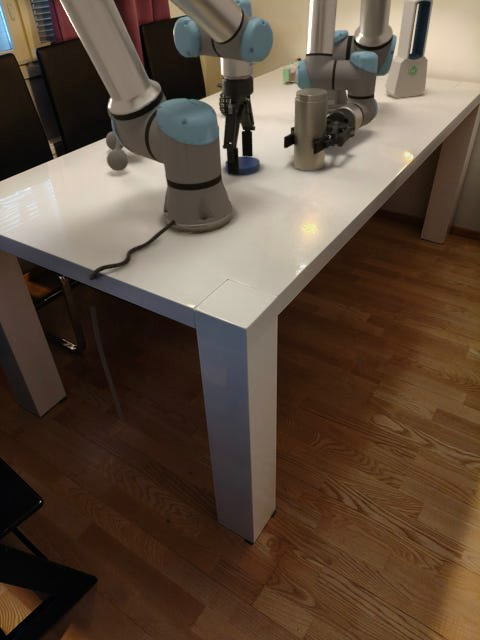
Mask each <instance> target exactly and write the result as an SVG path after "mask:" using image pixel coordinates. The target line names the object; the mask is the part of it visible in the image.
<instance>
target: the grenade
mask: <svg viewBox="0 0 480 640" xmlns="http://www.w3.org/2000/svg"><path fill="white" fill-rule="evenodd" d="M215 87H217V88H219V89H222V82H218V83H217V84H216V86H215ZM218 101H219V102H218V106H219V108H218V109H219V112H220V114H221V115H222V116H224V117H226V108H225V106H226V104H229V103H230V97H229V96H225V95H224V94H223V91H222V90H221V93H219V97H218Z"/></svg>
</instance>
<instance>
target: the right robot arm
mask: <svg viewBox="0 0 480 640" xmlns="http://www.w3.org/2000/svg"><path fill="white" fill-rule="evenodd" d="M391 5H392V0H360V10H359V11H360V12H359V25H358V27H357V28H356V29H355V30H354V33H353V35H350V33H349V30H347V29H338V30H336V21H337V11H338V10H337V9H338V0H308V13H307V14H308V15H307V29H306V42H305V43H306V45H305V58H304V59H305V60H304V59H302V58H301V57H300V58H299V59H298V58H297V60H296V61H298V62H299V63H298V66H297V76H296V79H297V83H296V85H297V88H299V90H301V89H306V88H320V89H324V90H326V91H327V97H328V107H327V124H326V136H325V137H323V138H321V139H320V140H318V141H316V142H314V152H313V154H317V153H319V152H321V151H322V150H324V149H325V150H326V149H328V148H330V147H335V146H337V147H338V148H342V147H343V146H344V145H345V144H346V143H347V142H348V141H349V140H350V139H351V138H355V136H356V131H357V130H359V129H361V128H362V127H364V126H367V125H369V124H370V123H372V121H374V119H376V117H377V115H378V112H379V104H378V101H377V100H376V99H375V93H376V92H375V91H376V84H377V77H384V76H386V75H388V74H389V70H390V67H391V64H392V60H393V59H394V55H395V54H394V53H395V50H396V46H397V40H398V37H397V35H396V34H394V31H393V28H392V27H391V26H390V16H391V15H390V14H391ZM292 146H294V126H292V127H290V133H289V134H287V135H285V136H284V137H283V148H284V149H288V148H290V147H292Z"/></svg>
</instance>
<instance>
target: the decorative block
mask: <svg viewBox="0 0 480 640" xmlns="http://www.w3.org/2000/svg"><path fill="white" fill-rule="evenodd" d="M303 60H305V58H304V59H303ZM298 63H299V61H296V62H293V61H290V62H288V63H287V64H288V65H286V66H284V68H282V82H287V83H296V84H297V79H296V76H297V66H298Z"/></svg>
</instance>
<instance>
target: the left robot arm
mask: <svg viewBox="0 0 480 640" xmlns="http://www.w3.org/2000/svg"><path fill="white" fill-rule="evenodd" d="M169 1H170V2H171V3H172V4H173V5H175V6H176V7H177V8H178V9H179V10H180V11H181V12H182V13H183V14H185V15H186V16H182V17H179V18H178V19H177V20H176V21H175V24H174V27H173V41H174V45H175V48H176V50H177V51H178V53H179V54H180V55H181V56H183V57H184V58H198V57H201V56H208V57H214V58H219V59H220V75H221V76H222V79H221V83H222V88H221V92H222V91H223V94H224V95H225V96H229V97H230V103H229V104H226V106H225V108H226V116H225V119H224V132H223V144H222V149H224V150H226V161H227V164H228V172H227V175H235V176H240V175H239V159H238V157H239V147H238V140H239V135H240V134H239V132H240V127H241V129H242V131H241V153H242V156H247V157H253V156H254V154H253V153H254V152H253V131H254V132H255V131H256V125H255V120H254V113H253V106H252V101H251V95H252V94H254V91H255V90H254V89H255V88H254V77H253V76H252V75H253V74H254V66H255V65H256V63H260V62H262V61H265V60H266V59H267V57H268V56H269V55H270V52H271V50H272V48H273V44H274V33H273V28H272V26H271V24H270V23H269V21H267V20H266V19H264V18H261V17H260V18H259V17H258V16H253V10H252V9H253V8H252V4H251V0H169ZM59 2H60V4H61V5H62V7H63V10H64V11H65V13H66V15H67V17H68V19H69V21H70V23H71V24H72V27H73V28H74V30H75V32H76V34H77V36H78V38H79V41H80V42H81V43H82V45H83V47H84V49H85V51H86V53H87V55H88V56H89V59H90V61H91V62H92V64H93V67H94V68H95V70H96V71H97V74H98V75H99V77H100V79H101V81H102V83H103V85H104V86H105V89H106V91H107V92H108V94H109V96H110V97H111V100H110V103H109V110H110V112H111V114H112V117H113V120H111V129H112V131H113V132H114V135H115V137H116V139H117V140H118V141H119V143H120V144H121V145H122V146H123V148H125V149H126V150H127V151H129V152H130V153H132V154H134V155H136V156H141V157H142V158H147V159H148V160H151V161H155V162H158V163H160V164H163V168H164V174H165V180H166V190H165V191H166V192H165V196H164V203H163V207H162V218H163V222H164V224H165V226H164V227H162V228H161V229H159V231H157V232H156V233H155V234H153V236H152V237H151V238H150V239H148V240H147V241H146V242H143V243H142V244H139V245H136V246H134V247H132V248H130V249H129V250H128V251H127V253H126V257H125V258H124V260H122V261H119V262H115V263H109V264H104V265H101V266H99V267H97V268H95V269H94V270H93V272H91V274H90V276H89V279H88V280H89V281H92V280H95V278H96V276H97V275H98V274H100V273H101V272H102V271H106V270H111V269H116V268H121V267H124V266H125V265H127V264H128V263H129V262H130V260H131V256H132V254H133V253H136V252H138V251H140V250H142V249H145V248H146V247H148V246H150V245H151V244H153V243H154V242H155V241H156V240H157V239H158V238H160V237H161V236H162V235H163V234H164V233H165V232H167V231H168V230H169V229H171V230H173V231H177V232H180V233H190V234H191V233H192V234H193V233H194V234H195V233H196V234H197V233H205V232H206V233H207V232H210V231H215V230H216V229H220V228H222V227H224V226H226V225H227V224H228V223H230V221H231V220H232V218H233V216H234V212H233V211H234V210H233V204H232V201H231V200H230V197H229V195H228V192H227V190H226V187H225V184H224V182H223V175H222V174H223V173H222V158H221V140H220V126H219V122H218V115H217V111H216V110H215V108H214V107H213V106H211V104H209V103H207V102H205V101H202V100H199V99H194V98H190V99H188V98H185V97H183V98H172V99H168V100H167V98H166V96H165V94H164V92H163V91H164V90H163V89H162V86H161V85H160V83H159V82H158V81H155V80H153V79H150V78H149V76H148V74H147V71H146V69H145V67H144V65H143V63H142V61H141V58H140V56H139V54H138V52H137V49H136V47H135V45H134V43H133V40H132V39H131V38H132V37H131V36H130V34H129V32H128V29H127V27H126V25H125V22H124V20H123V18H122V15H121V14H120V11H119V9H118V7H117V5H116V3H115V1H114V0H59ZM242 156H241V157H242ZM90 314H91V321H92V327H93V332H94V337H95V342H96V346H97V350H98V354H99V357H100V360H101V361H100V362H101V363H102V367H103V370H104V373H105V377H106V380H107V382H108V385H109V388H110V391H111V393H112V396H113V400H114V403H115V406H116V410H117V414H118V417H119V421H120V422H124V420H125V418H124V413H123V410H122V407H121V404H120V400H119V397H118V393H117V391H116V388H115V384H114V382H113V379H112V375H111V372H110V370H109V366H108V362H107V360H106V356H105V353H104V348H103V345H102V341H101V337H100V331H99V325H98V319H97V311H96V306H93V305H90Z"/></svg>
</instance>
